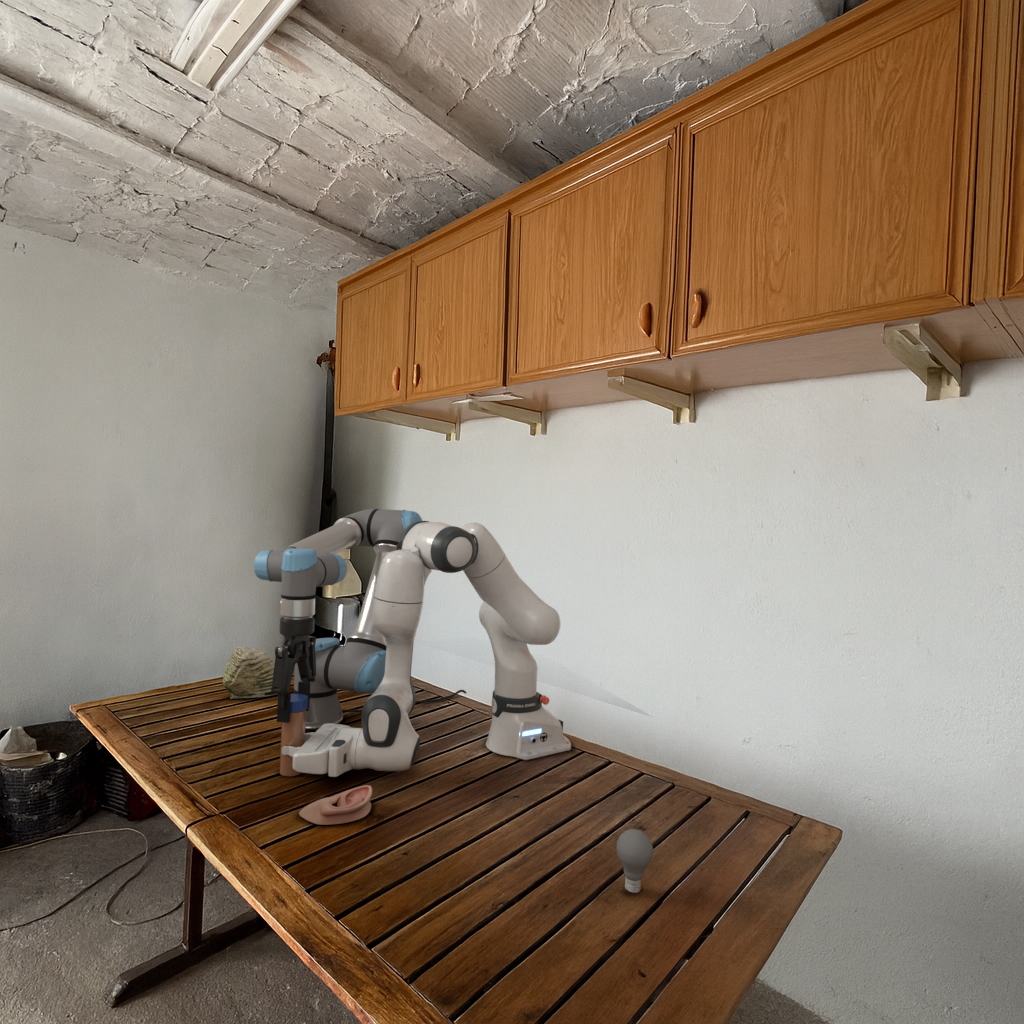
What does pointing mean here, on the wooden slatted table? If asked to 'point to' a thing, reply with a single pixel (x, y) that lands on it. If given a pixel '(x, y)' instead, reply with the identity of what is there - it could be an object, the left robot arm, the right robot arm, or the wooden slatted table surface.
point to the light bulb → (634, 857)
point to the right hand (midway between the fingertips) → (288, 743)
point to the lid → (298, 703)
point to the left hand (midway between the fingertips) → (293, 715)
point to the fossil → (249, 673)
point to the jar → (292, 740)
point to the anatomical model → (339, 807)
